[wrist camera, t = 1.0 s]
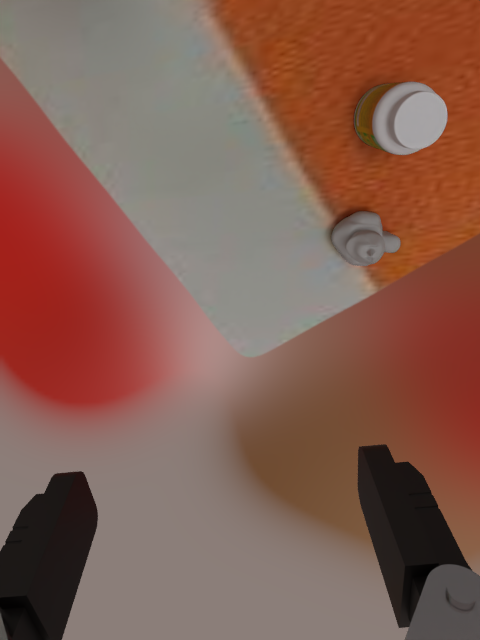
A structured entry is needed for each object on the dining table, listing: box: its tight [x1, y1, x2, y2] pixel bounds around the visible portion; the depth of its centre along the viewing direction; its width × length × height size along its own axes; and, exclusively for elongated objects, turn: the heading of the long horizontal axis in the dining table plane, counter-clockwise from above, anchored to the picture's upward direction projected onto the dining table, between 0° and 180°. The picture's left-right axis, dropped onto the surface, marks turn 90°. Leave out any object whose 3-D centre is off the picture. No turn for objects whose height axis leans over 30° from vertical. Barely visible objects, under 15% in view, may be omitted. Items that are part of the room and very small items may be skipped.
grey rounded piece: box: [331, 211, 400, 266], centre depth 43 cm, size 5×7×8 cm
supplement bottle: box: [354, 82, 447, 155], centre depth 37 cm, size 5×5×10 cm
